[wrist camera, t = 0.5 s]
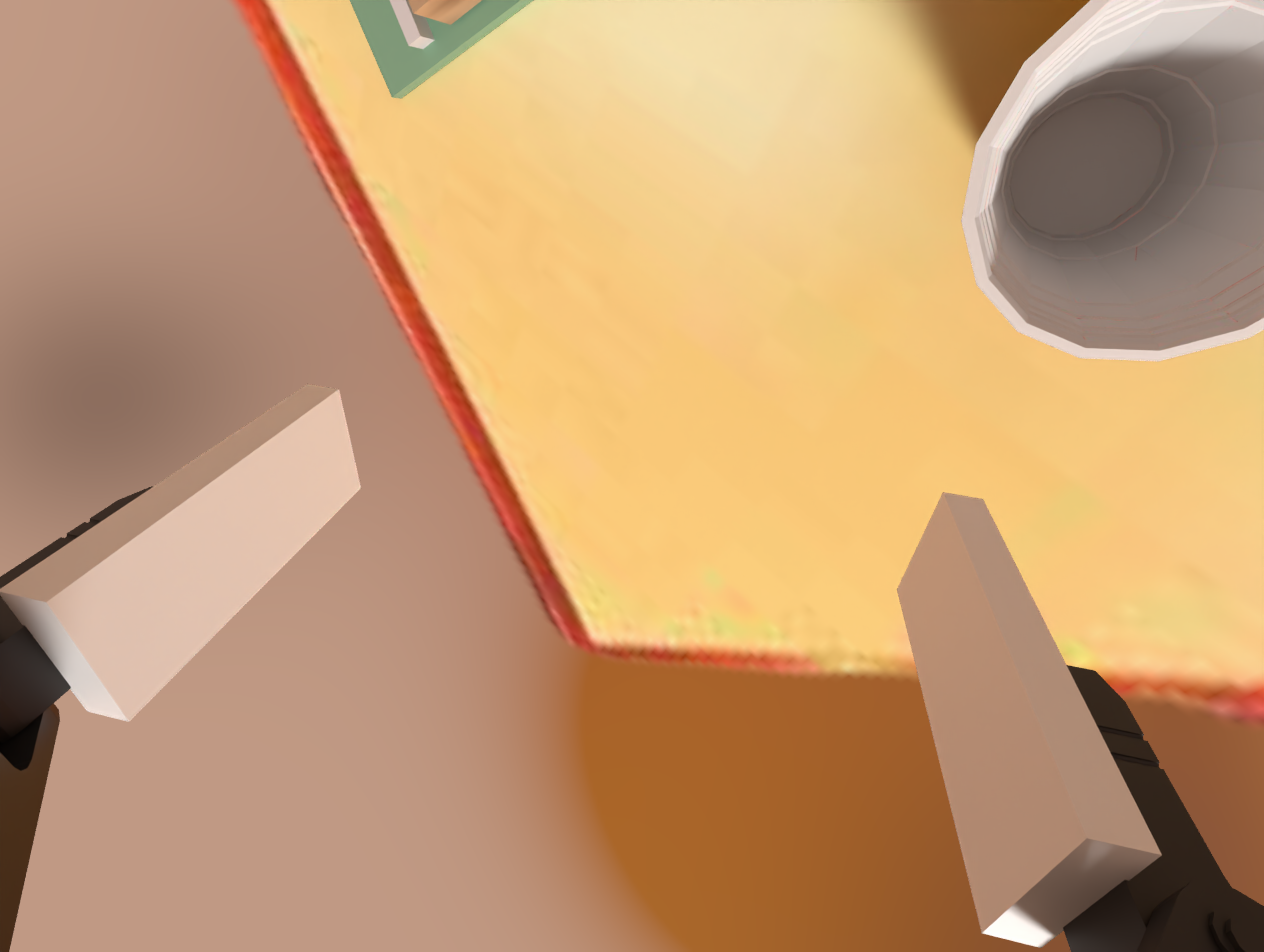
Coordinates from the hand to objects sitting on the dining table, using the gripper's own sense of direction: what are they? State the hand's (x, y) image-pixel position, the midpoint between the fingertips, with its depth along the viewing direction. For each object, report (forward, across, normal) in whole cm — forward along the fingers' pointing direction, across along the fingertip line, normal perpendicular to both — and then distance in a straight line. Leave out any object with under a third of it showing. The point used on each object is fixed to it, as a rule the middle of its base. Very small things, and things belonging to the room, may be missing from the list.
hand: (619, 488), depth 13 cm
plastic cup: (+22, +16, +5) cm, 28 cm away
